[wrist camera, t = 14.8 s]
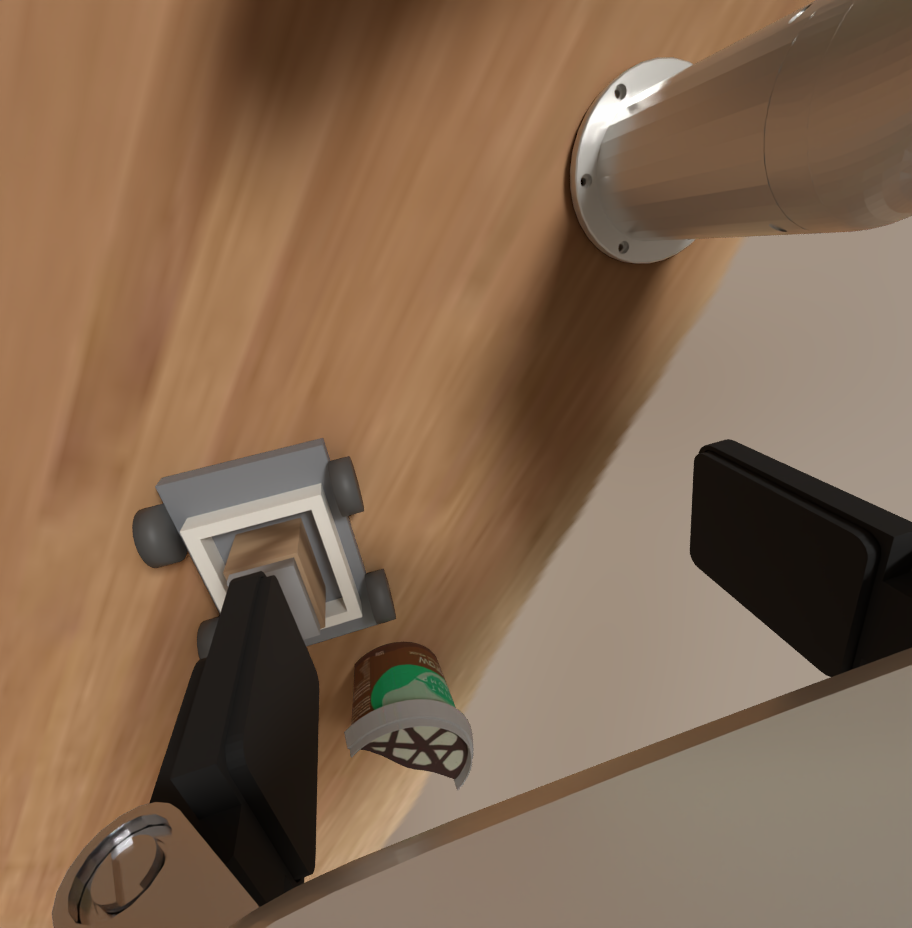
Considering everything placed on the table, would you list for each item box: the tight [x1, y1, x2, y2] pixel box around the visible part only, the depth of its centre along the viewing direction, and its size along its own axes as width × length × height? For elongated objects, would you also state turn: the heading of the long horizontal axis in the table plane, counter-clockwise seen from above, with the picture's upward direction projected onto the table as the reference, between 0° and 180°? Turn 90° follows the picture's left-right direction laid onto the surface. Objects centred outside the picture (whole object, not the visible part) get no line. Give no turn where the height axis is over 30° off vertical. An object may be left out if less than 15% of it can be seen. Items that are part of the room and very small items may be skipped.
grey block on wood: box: [223, 518, 326, 640], centre depth 36 cm, size 5×7×6 cm
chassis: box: [132, 438, 396, 659], centre depth 38 cm, size 15×18×4 cm
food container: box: [344, 642, 473, 790], centre depth 44 cm, size 12×6×10 cm, turn 49°
